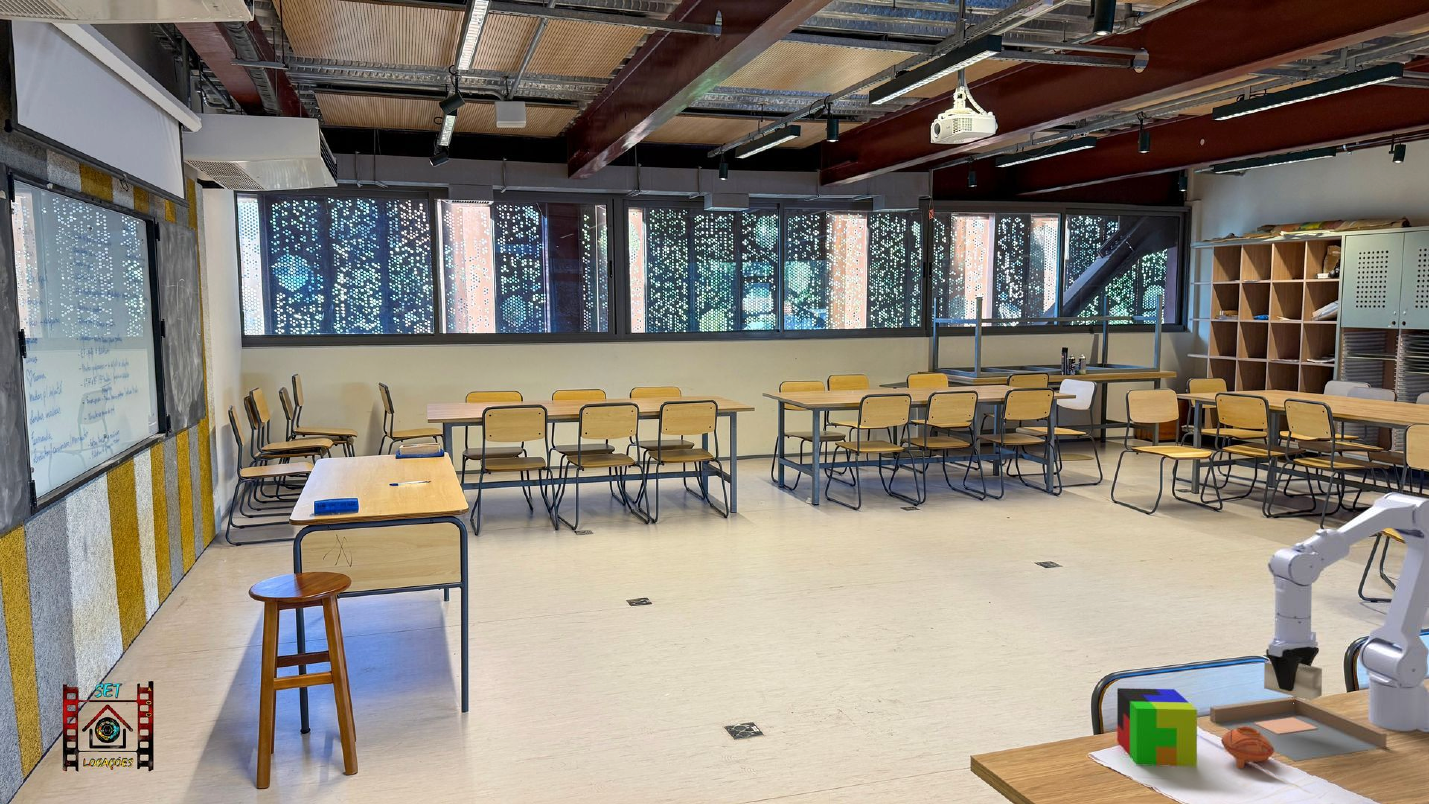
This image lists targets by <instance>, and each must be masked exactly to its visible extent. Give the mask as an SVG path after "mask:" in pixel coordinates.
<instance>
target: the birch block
mask: <svg viewBox="0 0 1429 804" xmlns="http://www.w3.org/2000/svg"><path fill="white" fill-rule="evenodd" d="M1263 673H1264V680H1263V683H1264V685H1263V687H1264V688H1263V689H1266V690H1269V691H1272V692H1277V693H1280V694H1284V695H1287V696H1290V697H1293V696H1295V697H1298V698H1300V699H1303V700H1305V701H1313V700H1315V699H1317V698H1319V697H1321V696H1323V694H1322V692H1323V691H1322V690H1323V689H1322V687H1323V668H1321V667H1316V666H1314V665H1313V666H1312V665H1311V666H1308V665H1304V664H1300V663H1299V666H1298V668H1297V672H1296V677H1295V684H1294V688H1293V690H1292V691H1287V690H1283V689H1280V688H1279V686H1278V682H1277V678H1276V674H1275V671H1274V668H1273V665H1272V663H1271V661H1270V660H1269V659H1268V660H1266V661H1264V671H1263Z"/></svg>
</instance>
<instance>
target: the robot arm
mask: <svg viewBox="0 0 1429 804" xmlns="http://www.w3.org/2000/svg"><path fill="white" fill-rule="evenodd" d="M1387 529H1391V530H1393V531H1394V532H1395V533H1396V534H1398V535H1399V536H1400V537H1401V539H1402V541H1404V543H1405V545H1406V546H1407V550H1406V553H1405V556H1404V558H1403V562H1402V566H1401V569H1400V572H1399V575H1398V579H1397V581H1396V585H1395V588H1394V592H1393V593H1392V598H1391V601H1390V604H1389V608H1388V611H1387V614H1386V618H1385V620H1384V623H1383V625H1382V626H1380V627H1377V628H1375V629H1373V630H1371V631H1370V633H1369V636H1368V639H1367V640H1366V641H1365V642H1364V643H1363V644H1362V646H1361V647H1360V650H1359V656H1358V659H1359V662H1360V664H1361V665H1362V667H1363V668H1365V670H1366V676H1368V677H1369V678H1368V722H1370V723H1371V724H1372V725H1374V726H1377V727H1379V728H1383V729H1385V730H1391V731H1397V732H1411V731H1415V730H1419V731H1420V732H1424V733H1429V689H1428V688H1427V687H1426V685H1425V684H1424V683H1423V682H1424V681H1425V680H1426V677H1427V675H1428V672H1429V671H1428V670H1429V669H1428V668H1429V666H1428V656H1429V648H1427V647H1428V646H1426V644H1425V643H1424V641H1423V640H1422V639H1421V637H1420V635H1421V632H1422V631H1421V630H1422V628H1423V625H1424V622H1425V618H1426V615H1427V612H1428V609H1429V498H1426V497H1419V496H1414V495H1407V494H1402V493H1400V492H1399V493H1398V492H1395V491H1394V492H1389V493H1386V494H1385V495H1383V496H1382V497H1380V498H1377V499H1375V500H1374V503H1373V505H1372V506H1370V507H1369V508H1368V509H1367V510H1365V511H1363V512H1362V513H1360V514H1359V515H1358V516H1356V517H1354V518H1353V519H1352V520H1349V522H1347V523H1345V524H1344V525H1342V526H1341V527H1339V528H1337V529H1336V530H1334V529H1331V528H1325V529H1323V528H1319V529H1317V530H1316V531H1315V534H1314V535H1312V536H1311V537H1309V538H1307V539H1305V540H1304V541H1302V542H1297V543H1294V544H1293V547H1292V548H1282V549H1279V550H1277V551H1276V552H1275V553H1273V555H1272V556H1271V558H1270V561H1269V562H1267V568H1268V571H1269V572H1270V574H1271V575H1272V577H1273V584H1274V585H1275V591H1274V593H1275V596H1274V597H1275V598H1274V600H1275V601H1274V635H1273V637H1272V640H1271V642H1270V643H1268V648H1267V649H1266V650H1265V653H1266V654H1265V655H1266V656H1267V658H1268V661H1269V660H1270V661H1271V663H1272V665H1273V668H1274V671H1275V674H1276V678H1277V682H1278V686H1279V688H1280V689H1283V690H1287V691H1292V690H1293V688H1294V684H1295V677H1296V672H1297V668H1298V666H1299V663H1300V664H1304V665H1308V666H1312V664H1313V661H1314V660H1315V658H1316V657H1317V655H1318V653H1319V651H1320V650H1319V649H1320V648H1319V647H1318V646H1319V642H1318V641H1317V632H1315V631H1312V593H1313V592H1312V588H1313V585H1312V584H1314V583H1316V581H1317V580H1319V577H1320V575H1321V573H1322V571H1323V572H1324V570H1325V569H1326V568H1328V567H1330V566H1331V565H1333V564H1335V563H1336V562H1338V561H1340V560H1341V559H1344V558H1345V557H1347V556H1349V554H1350V551H1351V550H1350V547H1351V546H1353V545H1355V544H1357V543H1359V542H1361V541H1363V540H1365V539H1367V538H1370V537H1372V536H1374V535H1376V534H1378V533H1380V532H1382V531H1385V530H1387ZM1396 645H1398V646H1399V647H1398V646H1396Z"/></svg>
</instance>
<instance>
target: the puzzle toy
mask: <svg viewBox="0 0 1429 804" xmlns="http://www.w3.org/2000/svg"><path fill="white" fill-rule="evenodd" d="M1116 690H1117V693H1116V694H1117V695H1116V696H1117V699H1116V700H1117V704H1116V705H1117V712H1116V713H1117V715H1116V717H1117V721H1116V724H1117V725H1116V726H1117V728H1116V730H1117V731H1116V732H1117V733H1116V734H1117V736H1116V740H1117V743H1118V744H1119V745H1120V747H1123V748H1124V749H1125V750H1124V749H1123V748H1122V749H1123V750H1124V752H1125V753H1126V752H1127V753H1128V754H1129V755H1130V756H1129V755H1128V754H1127V753H1126V754H1127V755H1128V756H1129V757H1130V758H1132V759H1133V760H1134V761H1135V762H1134V761H1133V760H1132V759H1131V760H1132V761H1133V762H1134V763H1136V764H1147V765H1146V766H1162V765H1169V767H1170V766H1171V767H1178V766H1179V767H1198V766H1197V765H1198V709H1197V708H1196V707H1195V706H1193V704H1192V703H1190V702H1189V701H1188V700H1187V699H1186V698H1184V696H1183V695H1181V694H1180V693H1179V692H1178V691H1177V690H1176V689H1174V688H1134V687H1133V688H1132V687H1131V688H1129V687H1126V688H1123V687H1122V688H1121V687H1118V688H1117V689H1116ZM1136 764H1135V765H1136ZM1148 764H1149V765H1148Z"/></svg>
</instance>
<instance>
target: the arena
mask: <svg viewBox="0 0 1429 804" xmlns="http://www.w3.org/2000/svg"><path fill="white" fill-rule="evenodd" d="M1293 703H1294V704H1293ZM1209 709H1210V710H1209V712H1210V713H1209V720H1210V721H1211V723H1212V722H1213V723H1214V724H1217V725H1219V726H1221V727H1223V728H1225V729H1226V730H1227V729H1228V730H1229V731H1231V730H1233V729H1236V727H1241V726H1246V727H1251V728H1254V729H1256V730H1258V731H1260V734H1261V735H1263V736H1264V737H1265V738H1266V739H1267V740H1268V741H1269V742H1270V743H1271V745H1272V747H1273V748H1274V752H1275V753H1277V754H1279V755H1280V756H1283V757H1285V758H1287V759H1288V760H1289V759H1290V760H1291V761H1294V762H1299V761H1306V760H1312V759H1313V760H1314V759H1319V758H1325V757H1333V756H1338V755H1339V756H1340V755H1346V754H1353V753H1359V752H1365V751H1374V750H1377V749H1378V750H1379V749H1385V748H1387V737H1388V736H1387V732H1384V731H1381V730H1380V729H1377V728H1374V727H1372V726H1370V725H1367V724H1364V723H1361V722H1359V721H1357V720H1355V719H1352V718H1350V717H1347V716H1344V715H1342V714H1340V713H1337V712H1335V711H1332V710H1330V709H1327V708H1324V707H1323V706H1320V705H1317V704H1315V703H1312V702H1309V700H1306V699H1302V698H1299V697H1295V696H1289V697H1288V696H1287V697H1281V698H1280V697H1279V698H1272V699H1266V700H1265V699H1264V700H1256V701H1249V702H1242V703H1240V702H1239V703H1232V704H1226V705H1219V706H1211V707H1209Z"/></svg>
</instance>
